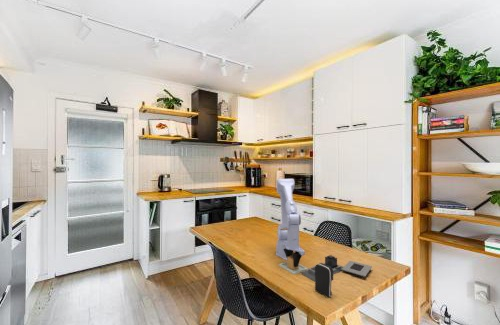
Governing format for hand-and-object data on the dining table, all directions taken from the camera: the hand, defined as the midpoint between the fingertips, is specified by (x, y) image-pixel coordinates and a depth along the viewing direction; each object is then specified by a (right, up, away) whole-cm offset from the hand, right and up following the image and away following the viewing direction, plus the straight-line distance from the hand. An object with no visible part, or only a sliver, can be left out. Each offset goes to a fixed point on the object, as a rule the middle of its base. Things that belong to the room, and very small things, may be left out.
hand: (292, 264), depth 117 cm
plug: (0, -1, 0) cm, 1 cm away
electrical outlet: (+31, -3, -3) cm, 31 cm away
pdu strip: (+14, -2, -4) cm, 15 cm away
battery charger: (+9, -2, -22) cm, 23 cm away
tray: (0, -2, 0) cm, 2 cm away
